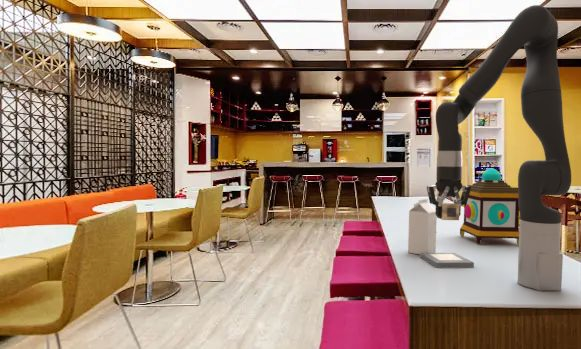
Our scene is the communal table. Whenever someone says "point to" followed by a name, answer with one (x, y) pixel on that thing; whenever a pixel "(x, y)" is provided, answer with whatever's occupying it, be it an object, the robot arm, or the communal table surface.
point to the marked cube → (450, 211)
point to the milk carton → (422, 228)
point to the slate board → (446, 260)
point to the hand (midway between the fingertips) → (447, 217)
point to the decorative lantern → (491, 209)
